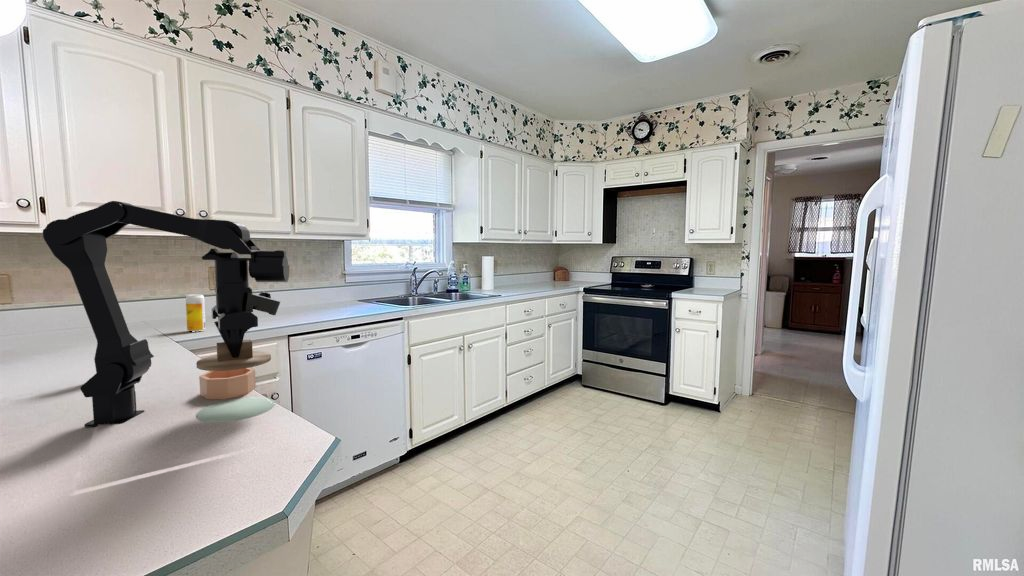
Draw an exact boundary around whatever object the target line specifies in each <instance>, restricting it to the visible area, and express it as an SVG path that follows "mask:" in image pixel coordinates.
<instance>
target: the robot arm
mask: <svg viewBox="0 0 1024 576" xmlns="http://www.w3.org/2000/svg"><path fill="white" fill-rule="evenodd" d="M128 225H132V226H137V227H142V228H148V229H152V230H157V231H162V232H167V233H172V234H177V235H182V236H186V237H190V238H193V239H195V240H197V241H200V242H203V243H205V244H207V245H210V246H213V247H216V248H213V247H212V248H210V249H209V251H207V253H205V254H204V255H202V256H201V260H203V261H214V275H215V276H214V278H215V279H214V281H215V283H214V284H215V286H214V292H215V305H214V306H213V307H212V308H211V318H212V319H213V320H214V319H215V320H217V321H214V322H213V323H214V326H215V327H216V329H217V331H218V332H219V334H220V337H221V338H222V340H223V342H225V344H226V346H227V348H228V350H229V352H230V354H231V356H232V357H233V358H237V357H239V354H240V350H241V346H242V342H243V340H244V338H245V333H247V332H248V331H249V330H251V329H252V328H257V327H259V320H258V318H259V316H257V315H255V314H254V310H255V311H259V312H264V313H267V314H269V315H271V316H276V315H277V313H278V309H279V307H280V305H281V301H279V300H278V299H275V298H272V297H271V293H269V292H266V291H261V292H260V293H259V294H257V293H253V288H251V287H250V286H249V285H250V282H249V277H250V278H251V279H254V280H255V282H257V283H287V282H289V278H290V264H289V262H288V258H287V251H286V250H270V251H269V250H268V251H267V250H261V249H260V247H259V246H258V245H257V244H256V243H255V242H254V241H253V240H252V239H251V234H250V231H249V229H248V228H247V226H246V225H244V224H242V223H240V222H236V221H231V220H225V219H208V218H207V219H206V218H193V217H189V216H183V215H179V214H174V213H169V212H165V211H161V210H160V211H159V210H155V209H150V208H146V207H140V206H136V205H133V204H131V203H128V202H123V201H118V200H111V201H107V202H105V203H104V204H101V205H99V206H98V207H95V208H92V209H89V210H86V211H83V212H80V213H77V214H73V215H71V216H69V217H67V218H65V219H63V218H61V219H55V220H53V221H51V222H49V223H48V224H47V225H46V226H45V228H44V229H42V239H43V241H44V242H45V245H47V246H48V249H49V250H50V252H51V253H52V255H53V256H54V257H55V258H56V259H57V260H58V261H60V263H61V264H62V265H64V266H65V267H66V268H67V269H68V270H69V272H70V274H71V277H72V279H73V282H74V284H75V287H76V289H77V293H78V295H79V298H80V300H81V302H82V306H83V308H84V310H85V313H86V315H87V319H88V320H89V321H88V322H89V323H90V326H91V329H92V331H93V334H94V337H95V339H96V348H95V354H94V357H93V358H94V359H93V360H94V365H95V366H94V367H95V374H94V375H93V376H91V377H90V378H89V379H87V381H85V382H84V383H83V384H82V385H81V386H80V391H81V393H82V394H83V396H84V398H91V402H92V414H93V419H92V420H90V421H87V422H85V423H84V427H86V428H88V427H98V426H100V425H103V426H105V425H121V424H124V423H127V422H129V421H131V420H132V419H133V418H136V417H137V416H140V415H141V414H143V413H144V412H145V410H143V409H142V410H137V397H136V393H137V392H136V390H135V389H136V387H135V385H136V384H139V383H140V382H141V380H142V378H143V376H144V375H145V374H146V373H147V372H148V371H149V370H150V367H152V359H153V358H154V357H155V355H153V353H152V352H151V350H150V349H149V348H150V347H149V342H148V339H146V338H143V339H141V340H137V339H136V338H135V336H133V335H132V334H131V333H130V331H129V328H128V324H127V323H126V320H125V316H124V314H123V312H122V309H121V306H120V303H119V300H118V298H117V295H116V293H115V291H114V288H113V284H112V282H111V279H110V276H109V274H108V271H107V268H106V265H105V264H106V258H107V253H108V246H107V239H109V238H111V237H113V236H115V235H117V234H118V233H120V231H121V230H123V229H124V228H125V227H126V226H128ZM218 248H219V249H222V250H231V251H233V252H229V251H223V252H222V251H219V250H218ZM238 255H250V257H239V256H238Z"/></svg>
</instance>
